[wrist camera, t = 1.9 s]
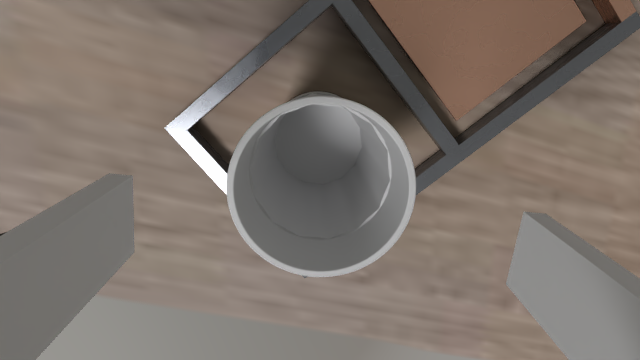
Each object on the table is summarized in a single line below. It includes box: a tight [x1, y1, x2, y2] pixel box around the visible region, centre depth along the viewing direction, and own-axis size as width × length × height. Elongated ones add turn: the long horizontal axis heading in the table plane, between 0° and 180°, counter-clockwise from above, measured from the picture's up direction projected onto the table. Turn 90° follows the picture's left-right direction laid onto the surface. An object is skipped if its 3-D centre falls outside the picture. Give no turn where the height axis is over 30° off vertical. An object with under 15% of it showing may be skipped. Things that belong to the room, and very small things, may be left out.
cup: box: [226, 91, 416, 277], centre depth 24 cm, size 8×8×12 cm
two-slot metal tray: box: [165, 0, 640, 278], centre depth 28 cm, size 27×14×2 cm, turn 129°
